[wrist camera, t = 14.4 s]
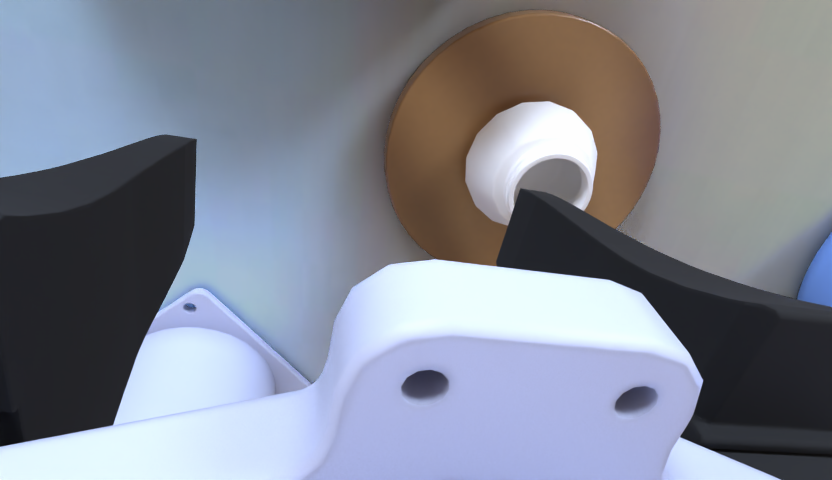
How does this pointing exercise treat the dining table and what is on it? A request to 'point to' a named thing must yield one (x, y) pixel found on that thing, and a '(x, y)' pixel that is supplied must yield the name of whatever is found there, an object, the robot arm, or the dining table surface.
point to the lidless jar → (531, 158)
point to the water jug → (819, 277)
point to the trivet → (505, 88)
